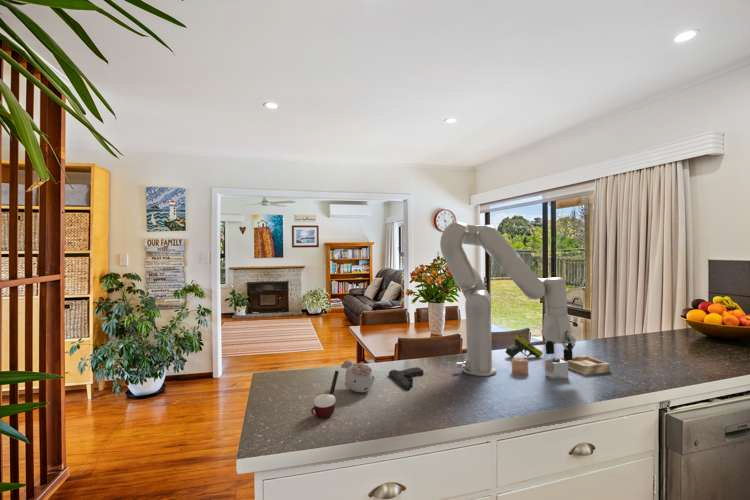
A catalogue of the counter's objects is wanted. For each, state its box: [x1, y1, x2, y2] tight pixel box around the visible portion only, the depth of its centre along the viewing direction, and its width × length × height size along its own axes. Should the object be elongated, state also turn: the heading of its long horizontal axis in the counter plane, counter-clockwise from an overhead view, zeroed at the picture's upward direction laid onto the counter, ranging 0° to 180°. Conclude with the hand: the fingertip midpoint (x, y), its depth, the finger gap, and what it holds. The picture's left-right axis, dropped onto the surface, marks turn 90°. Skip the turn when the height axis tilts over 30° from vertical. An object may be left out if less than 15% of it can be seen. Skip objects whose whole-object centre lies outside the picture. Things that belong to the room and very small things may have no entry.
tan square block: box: [511, 357, 529, 376], centre depth 150 cm, size 6×6×5 cm
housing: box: [544, 357, 569, 380], centre depth 145 cm, size 6×5×7 cm
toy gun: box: [505, 334, 543, 359], centre depth 171 cm, size 2×14×10 cm
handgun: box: [388, 367, 424, 391], centre depth 144 cm, size 2×18×13 cm
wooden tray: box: [560, 355, 611, 376], centre depth 154 cm, size 12×12×3 cm
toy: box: [340, 359, 375, 393], centre depth 137 cm, size 10×15×10 cm, turn 27°
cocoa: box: [310, 370, 340, 419], centre depth 115 cm, size 10×6×12 cm, turn 110°
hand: (559, 356), depth 145 cm, fingers open, 9 cm apart
